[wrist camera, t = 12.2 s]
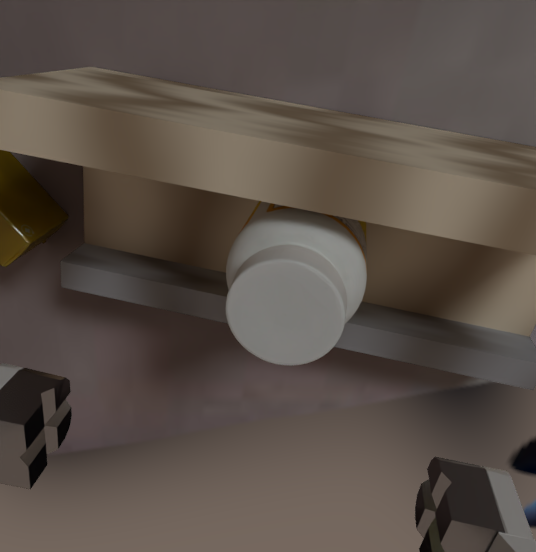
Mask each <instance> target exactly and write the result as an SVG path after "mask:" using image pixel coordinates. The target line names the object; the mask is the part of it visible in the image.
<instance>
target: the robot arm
mask: <svg viewBox="0 0 536 552" xmlns="http://www.w3.org/2000/svg"><path fill="white" fill-rule="evenodd" d="M70 392H71V391H70V380H68V379H67V378H65V377H61V376H57V375H53V374H49V373H44V372H40V371H36V370H32V369H28V368H21V367H17V366H13V365H9V364H5V363H3V364H0V483H1V484H6V485H11V486H16V487H22V488H26V489H31V488H32V486H33V485H34V483H35V482H36V480H37V479H38V478H39V476H40V475H41V473H42V472H43V470H44V469H45V467H46V466H47V455H48V454H49V453H51V452H53V451H55V450H57V449H58V448H59V447H60V445H61V444H62V442H63V441H64V439H65V437H66V435H67V432H68V430H69V427H70V422H71V416H72V413H71V406H70V405H69V404H68V402H67V401H66V400H65V399H66V398H67V396H68V395H69V393H70ZM427 470H428V475H429V480H427V481H425V482H423V483H422V484H421V486H420V489H419V491H418V494H417V500H416V506H415V520H416V528H417V530H418V531H419V533H420V534H421V535H422V537H423V538H424V539H423V541H422V544H421V546H420V548H419V550H420V552H536V540H534V538H533V535H532V533H531V530H530V527H529V524H528V522H527V519H526V516H525V514H524V511H523V508H522V505H521V503H520V500H519V497H518V495H517V492H516V489H515V487H514V484H513V481H512V478H511V476H510V474H509V473H508V472H507V471H504V470H499V469H494V468H489V467H484V466H482V467H481V466H478V465H473V464H468V463H463V462H458V461H454V460H449V459H444V458H439V457H434V458H433V459H432V460H431V462H430V464H429V467H428V469H427Z"/></svg>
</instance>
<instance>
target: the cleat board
mask: <svg viewBox="0 0 536 552" xmlns="http://www.w3.org/2000/svg"><path fill="white" fill-rule="evenodd" d="M0 150H4V151H9V152H14V153H19V154H25V155H30V156H35V157H40V158H45V159H50V160H55V161H60V162H65V163H70V164H75V165H80V166H83V192H84V244H82V245H81V246H80V247H78V248H77V249H76V250H75V251H73V252H72V253H71V254H69V255H68V256H67V257H65V258H64V259H63V260H61V261H60V267H61V287H63V288H67V289H72V290H76V291H81V292H85V293H90V294H95V295H99V296H104V297H108V298H113V299H118V300H122V301H127V302H131V303H136V304H140V305H145V306H150V307H154V308H159V309H163V310H168V311H173V312H177V313H182V314H186V315H191V316H195V317H200V318H205V319H209V320H214V321H218V322H223V323H228V321H227V317H226V310H225V308H226V298H227V294H228V291H229V290H228V286H227V279H226V265H227V259H228V255H229V252H230V249H231V247H232V245H233V243H234V241H235V239H236V237H237V236H238V234H239V232H240V231H241V229H242V228H243V226H244V225H245V223H246V222H247V220H248V218H249V217H250V215H251V214H252V212H253V210H254V209H255V207H256V205H257V204H258V202H259V201H263V202H268V203H273V204H278V205H283V206H288V207H293V208H298V209H303V210H308V211H313V212H318V213H323V214H328V215H334V216H339V217H344V218H349V219H354V220H359V221H364V222H366V248H367V281H366V288H365V292H364V296H363V299H362V301H361V303H360V305H359V307H358V309H357V310H356V312H355V313H354V315H353V316H352V317H351V318H350V319H349V320H348V322H347V323H345V325H344V329H343V332H342V334H341V336H340V338H339V340H338V342H337V343H336V345H335V346H334V347H337V348H342V349H347V350H351V351H356V352H360V353H365V354H370V355H374V356H379V357H383V358H388V359H392V360H397V361H402V362H406V363H411V364H415V365H420V366H425V367H429V368H434V369H438V370H443V371H447V372H452V373H457V374H461V375H466V376H470V377H475V378H480V379H484V380H489V381H493V382H498V383H503V384H507V385H512V386H516V387H521V388H525V389H530V390H534V388H535V386H536V347H535V345H534V344H533V342H532V340H531V338H530V335H531V332H532V330H533V328H534V326H535V324H536V147H533V146H527V145H522V144H516V143H511V142H505V141H500V140H494V139H489V138H483V137H477V136H472V135H466V134H461V133H455V132H450V131H444V130H439V129H433V128H428V127H422V126H417V125H411V124H406V123H400V122H394V121H389V120H383V119H378V118H372V117H367V116H361V115H356V114H350V113H345V112H339V111H334V110H328V109H323V108H317V107H311V106H306V105H300V104H295V103H289V102H284V101H278V100H273V99H267V98H262V97H256V96H251V95H245V94H239V93H234V92H228V91H223V90H217V89H212V88H206V87H201V86H195V85H190V84H184V83H179V82H173V81H168V80H162V79H156V78H151V77H145V76H140V75H134V74H129V73H123V72H118V71H112V70H107V69H101V68H96V67H86V68H77V69H69V70H61V71H52V72H44V73H36V74H28V75H19V76H11V77H3V78H0Z"/></svg>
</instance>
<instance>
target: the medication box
mask: <svg viewBox="0 0 536 552" xmlns="http://www.w3.org/2000/svg"><path fill="white" fill-rule="evenodd" d="M68 217H69V216H68V215H67V214H66V213H65V212H64V211H63V210H62V208H61V207H60V206H59V205H58V204H57V203H56V202H55V201H54V200H53V198H52V197H51V196H50V195H49V194H48V193H47V192H46V191H45V190H44V189H43V188H42V186H41V185H40V184H39V183H38V182H37V181H36V180H35V179H34V178H33V177H32V176H31V174H30V173H29V172H28V171H27V170H26V169H25V168H24V167H23V166H22V165H21V163H20V162H19V161H18V160H17V159H16V158H15V157H14V156H13V155H12V154H11V153H10V152H9V151H4V150H0V265H1V266H2V267H3V266H5V267H7V266H8V265H9V264H11V263H12V262H14V261H15V260H17V259H18V258H20V257H21V256H23V255H24V254H26V253H27V252H29V251H30V250H32V249H33V248H35V247H36V246H37V245H39V244H40V243H41V242H42V243H45V242H46V239H48V238H49V237H50V236H51V235H53V234H54V233H55V232H56V231H57V230H58V229H59V228H60V227H61V226H62V225H63V224H64V223H65V221H66V220H67V219H68Z"/></svg>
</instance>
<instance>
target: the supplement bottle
mask: <svg viewBox="0 0 536 552" xmlns="http://www.w3.org/2000/svg"><path fill="white" fill-rule="evenodd" d="M226 279H227V286H228V290H229V291H228V294H227V298H226V308H225V310H226V317H227V321H228V325H229V327H230V329H231V332H232V333H233V335H234V336H235V338H236V339H237V341H238V342H239V343H240V344H241V345H242V346H243V347H244V348H245V349H246V350H247V351H249V352H250V353H252V354H253V355H255V356H256V357H258V358H260V359H262V360H264V361H267V362H270V363H274V364H279V365H290V366H293V365H301V364H306V363H309V362H312V361H315V360H317V359H319V358H321V357H322V356H324V355H325V354H326V353H328V352H329V351H330V350H331V349H332V348H333V347H334V346H335V345H336V343H337V342H338V340H339V338H340V336H341V334H342V332H343V329H344V325H345V323H347V322H348V320H349V319H350V318H351V317H352V316H353V315H354V313H355V312H356V310H357V309H358V307H359V305H360V303H361V301H362V299H363V296H364V292H365V288H366V281H367V248H366V222H364V221H359V220H354V219H349V218H344V217H339V216H334V215H328V214H323V213H318V212H313V211H308V210H303V209H298V208H293V207H288V206H283V205H278V204H273V203H268V202H263V201H259V202H258V204H257V205H256V207H255V209H254V210H253V212H252V214H251V215H250V217H249V218H248V220H247V222H246V223H245V225H244V226H243V228H242V229H241V231H240V232H239V234H238V236H237V237H236V239H235V241H234V243H233V245H232V247H231V249H230V252H229V255H228V259H227V265H226Z"/></svg>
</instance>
